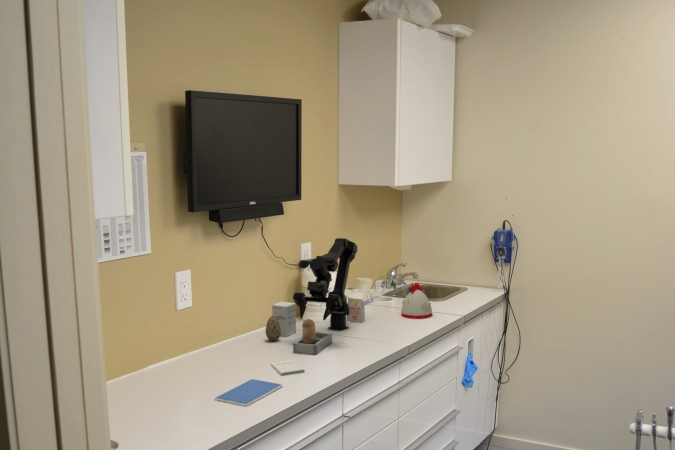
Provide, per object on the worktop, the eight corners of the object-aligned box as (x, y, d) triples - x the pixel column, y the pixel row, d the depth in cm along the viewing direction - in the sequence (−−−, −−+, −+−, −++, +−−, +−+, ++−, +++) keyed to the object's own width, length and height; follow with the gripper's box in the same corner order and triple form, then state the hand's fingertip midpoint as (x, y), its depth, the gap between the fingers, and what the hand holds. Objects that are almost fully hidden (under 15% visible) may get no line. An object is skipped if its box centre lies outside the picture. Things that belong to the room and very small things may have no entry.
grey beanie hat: (394, 315, 298) (394, 283, 296) (415, 310, 307) (414, 279, 305) (418, 320, 287) (418, 287, 286) (438, 315, 297) (438, 282, 295)
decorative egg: (272, 337, 264) (272, 313, 263) (284, 340, 260) (283, 315, 259) (262, 341, 259) (262, 316, 258) (274, 343, 255) (273, 318, 254)
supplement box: (272, 335, 268) (271, 304, 267) (281, 330, 274) (281, 301, 273) (287, 337, 265) (286, 306, 263) (296, 332, 271) (296, 302, 270)
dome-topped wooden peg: (313, 346, 248) (313, 317, 247) (317, 350, 244) (316, 320, 242) (301, 348, 247) (300, 318, 246) (304, 351, 242) (303, 321, 241)
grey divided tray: (310, 340, 258) (310, 332, 258) (331, 342, 255) (331, 333, 255) (293, 352, 242) (293, 343, 242) (316, 354, 239) (315, 345, 239)
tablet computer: (246, 408, 190) (246, 404, 190) (212, 401, 196) (212, 397, 196) (284, 388, 207) (283, 384, 207) (251, 382, 213) (251, 378, 213)
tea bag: (350, 319, 291) (350, 297, 290) (364, 321, 288) (364, 298, 288) (347, 321, 288) (346, 299, 287) (361, 323, 285) (360, 300, 284)
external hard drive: (281, 377, 217) (270, 366, 229) (304, 374, 220) (292, 363, 232) (281, 372, 217) (270, 362, 228) (304, 369, 220) (292, 359, 231)
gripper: (293, 271, 254) (283, 306, 245) (339, 273, 248) (330, 309, 239) (302, 287, 262) (292, 321, 253) (346, 290, 256) (337, 324, 247)
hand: (312, 318), depth 248 cm, fingers open, 9 cm apart
